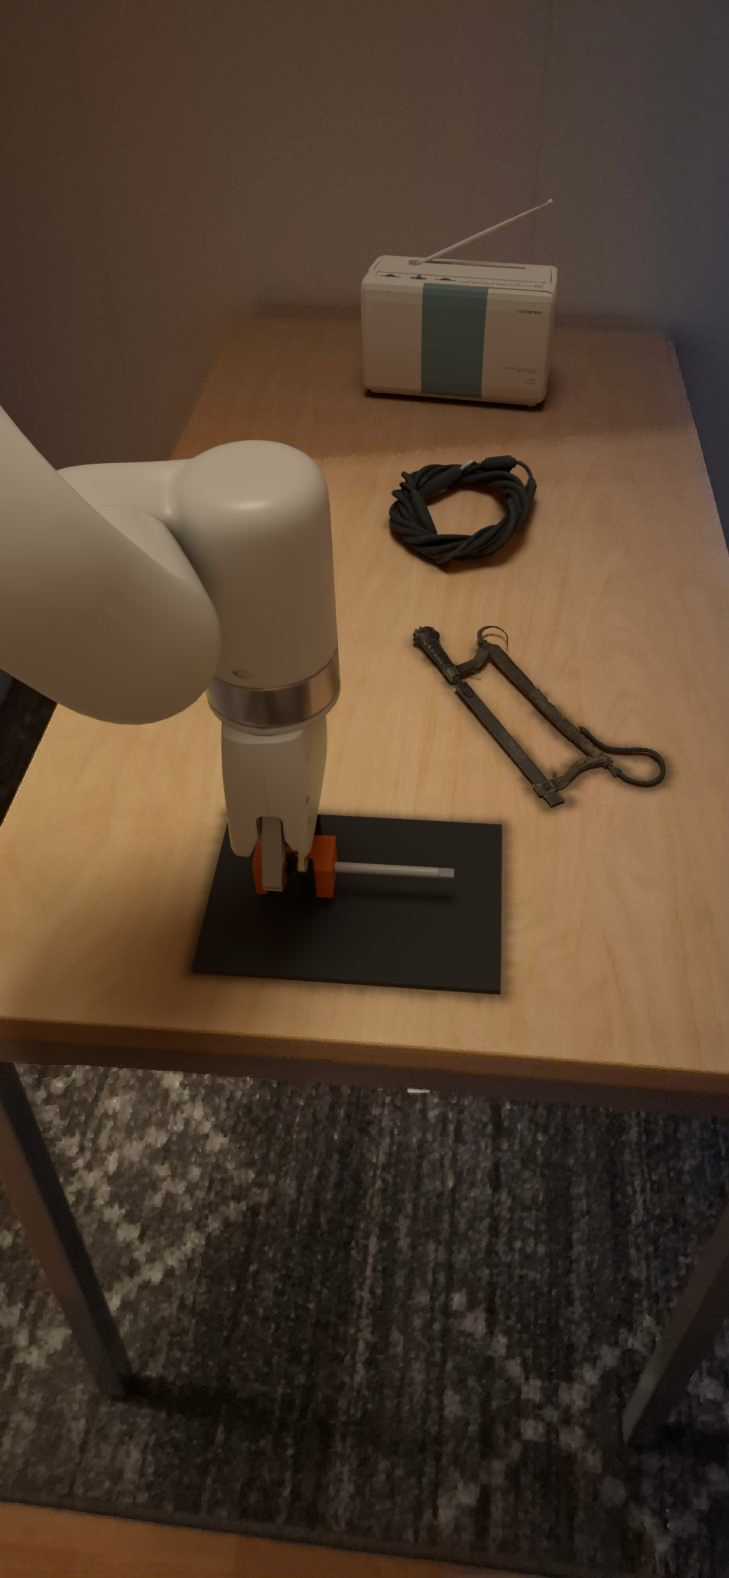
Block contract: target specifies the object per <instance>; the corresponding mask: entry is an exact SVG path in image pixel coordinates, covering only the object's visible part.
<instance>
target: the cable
mask: <svg viewBox="0 0 729 1578" xmlns="http://www.w3.org/2000/svg"><path fill="white" fill-rule="evenodd" d="M517 466H520V467H522V468H523V469H524V470H525V472H526V474H527V476H528V479H527V480H526V484H524V483H523V481H522V480H521V478H520V477H519V476H517V475H515V474H514V473H512V472H511V471H512V470H513V469H514V468H516V467H517ZM400 477H402V478H403V479H404V481H400V482H399V484H398V486H399V488H400V489H393V490H392V491H391V496H392V497H394V498H395V499H396V500H395V501H394V502H393V503H392V504H391V505H390V506H389V509H388V515H389V520H388V524H389V526H390V528H391V529H392V530H393V531H395V532H397V533H399V534H401V538H402V541H403V542H405V543H407V544H410V545H411V547H412V548H413V549H414V550H415V551H417V552H419V553H422V554H423V555H425V556H426V557H427V558H429V559H433V560H434V561H435V563H436V564H438V565H443V564H445V563H447V562H449V561H450V560H453V561H455V562H461V563H474V562H479V561H483V560H485V559H488V558H490V557H492V556H493V555H495V554H497V553H498V552H500V551H502V549H503V548H505V547H506V546H507V544H509V543H510V541H511V540H512V539H513V538H514V536H515V535H516V534H517V533H518V532H519V530H520V529H522V528H523V527H524V525H525V523H526V522H527V520H528V517H529V515H530V511H531V509H532V505H533V501H534V499H535V495H536V492H537V488H538V485H537V482H536V478H534V475H533V472H532V471H531V468H530V467H529V466H528V465H527V464H526V463H525V462H523V461H521V460H517V459H516V457H512V455H510V454H507V455H497V456H489V457H486V458H484V460H481V461H480V462H477V461H476V459H474V458H471V459H469V460H468V461H466V462H465V463H463V464H459V463H451V464H450V463H449V464H442V463H441V464H439V463H432V464H426V465H424V466H423V467H421V468H420V469H418V470H415V471H412V472H411V473H408V472H407V471H405V470H403V471H401V474H400ZM469 483H477V484H479V485H481V486H485V487H488V488H499V489H500V490H502V491H503V492H504V505H503V507H504V510H505V511H504V512H505V516H503V517H502V519H500V520H499V521H498V522H497V523H496V524H491V525H490V524H489V525H486V526H484V527H482V528H480V529H478V530H477V531H475V532H474V533H473V534H462V533H461V534H458V533H438V530H437V528H436V524H435V523H434V520H433V518H432V515H431V513H430V511H429V508H428V505H427V502H426V501H425V500H428V499H430V498H432V497H435V496H436V495H439V494H440V493H441V492H442V491H443V490H444V489H446V488H448V487H449V486H459V485H464V484H469Z"/></svg>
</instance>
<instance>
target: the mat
mask: <svg viewBox="0 0 729 1578" xmlns="http://www.w3.org/2000/svg"><path fill="white" fill-rule="evenodd" d="M319 814H320V815H321V825H322V835H325V836H335V837H336V848H337V861H338V862H346V863H364V864H381V865H399V866H416V867H434V868H448V869H454V879H445V878H424V877H407V876H389V875H372V874H355V873H337V872H336V879H335V886H334V893H333V898H325V897H316V900H315V901H314V902H296V903H287V902H282V901H278V900H271V899H269V898H268V894H258V893H257V892H256V886H255V880H254V874H253V868H252V864H253V859H254V855H255V850H256V845H257V843H256V845H255V847H254V849H253V851H252V853H251V855H250V857H244V856H237V855H236V854H235V853H234V852H233V850H232V848H231V843H230V836H229V829H228V821H227V822H226V826H225V830H224V834H223V838H222V843H221V846H220V850H219V854H218V859H217V862H216V867H215V871H214V874H213V879H212V883H211V886H210V891H209V894H208V899H207V902H206V907H205V911H204V916H203V920H202V922H201V923H202V924H201V927H200V932H199V936H198V940H197V944H196V947H195V952H194V956H193V959H192V964H191V968H190V970H191V972H192V973H197V974H209V975H210V974H212V975H225V976H227V975H228V976H242V977H252V978H266V979H271V978H272V979H281V980H285V979H286V980H294V981H295V980H297V981H311V982H324V983H326V982H327V983H340V984H341V983H342V984H352V985H353V984H356V985H370V986H384V987H385V986H387V987H399V988H412V989H426V990H442V991H457V992H468V993H470V992H471V993H486V994H501V991H502V990H501V987H502V986H501V980H502V979H501V978H502V975H501V973H502V970H501V969H502V967H501V966H502V875H503V874H502V871H503V870H502V868H503V867H502V865H503V864H502V863H503V860H502V859H503V858H502V857H503V856H502V855H503V824H501V823H500V824H499V823H485V822H484V823H482V822H466V821H465V822H464V821H445V820H430V819H413V818H410V819H409V818H393V817H378V816H377V817H376V816H357V815H342V814H341V815H339V814H322V813H319Z"/></svg>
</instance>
